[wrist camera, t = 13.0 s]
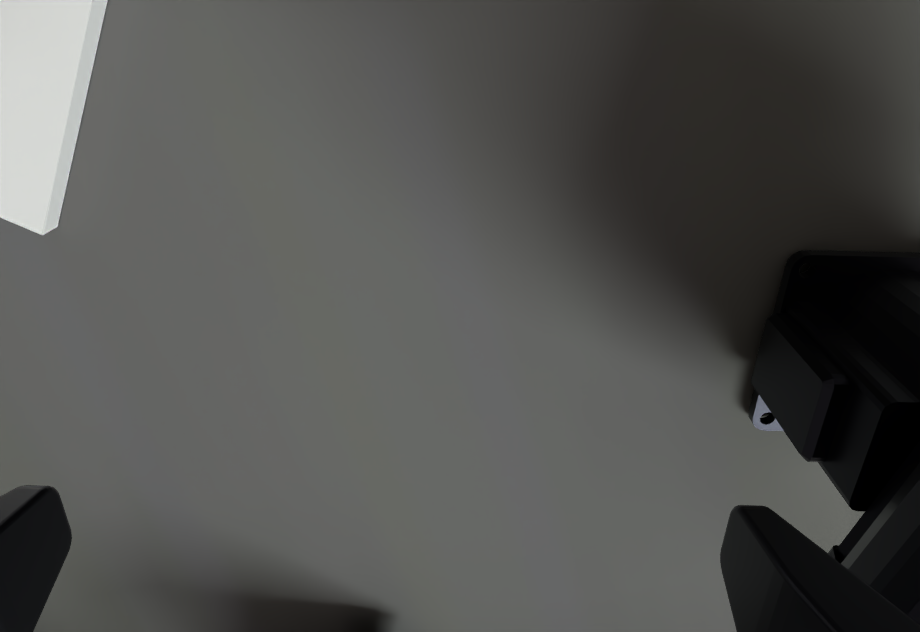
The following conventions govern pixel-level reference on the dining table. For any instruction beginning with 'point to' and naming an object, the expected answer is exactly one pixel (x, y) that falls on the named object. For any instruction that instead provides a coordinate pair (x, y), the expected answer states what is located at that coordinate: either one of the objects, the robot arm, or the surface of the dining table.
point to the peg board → (42, 102)
